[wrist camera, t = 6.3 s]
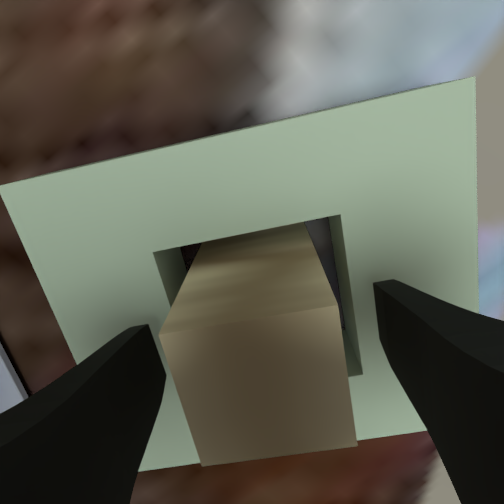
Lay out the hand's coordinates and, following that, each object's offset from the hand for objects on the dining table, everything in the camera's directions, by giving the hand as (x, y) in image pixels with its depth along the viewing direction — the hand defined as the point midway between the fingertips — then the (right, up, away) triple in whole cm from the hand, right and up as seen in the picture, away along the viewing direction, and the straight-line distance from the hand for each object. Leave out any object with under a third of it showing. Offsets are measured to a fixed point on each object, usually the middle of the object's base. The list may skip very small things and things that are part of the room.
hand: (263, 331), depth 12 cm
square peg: (0, +2, +4) cm, 4 cm away
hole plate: (0, +1, +4) cm, 4 cm away
